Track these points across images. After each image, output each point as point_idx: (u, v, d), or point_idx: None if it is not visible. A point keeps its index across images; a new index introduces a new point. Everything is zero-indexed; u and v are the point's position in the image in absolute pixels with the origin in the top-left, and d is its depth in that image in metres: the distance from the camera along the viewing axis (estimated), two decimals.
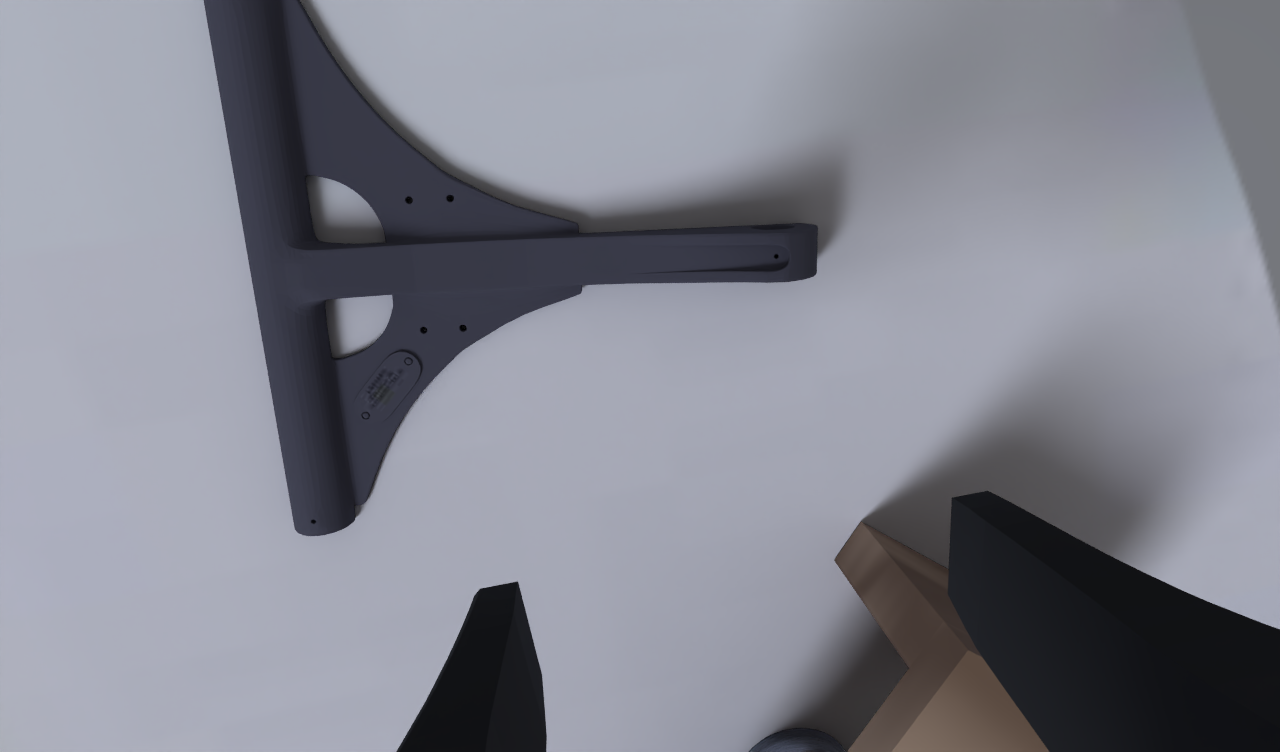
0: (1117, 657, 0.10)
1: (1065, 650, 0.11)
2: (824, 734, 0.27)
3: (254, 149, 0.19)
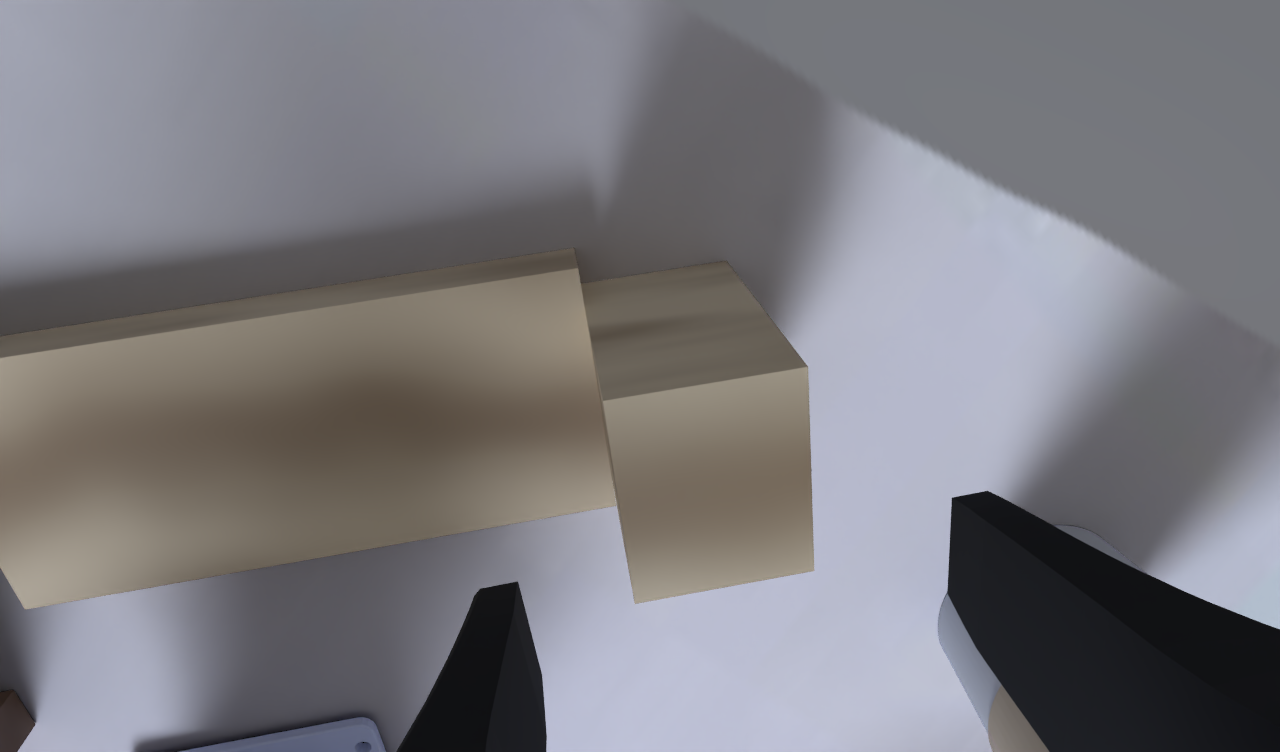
0: (1117, 657, 0.10)
1: (1066, 649, 0.11)
2: None
3: None
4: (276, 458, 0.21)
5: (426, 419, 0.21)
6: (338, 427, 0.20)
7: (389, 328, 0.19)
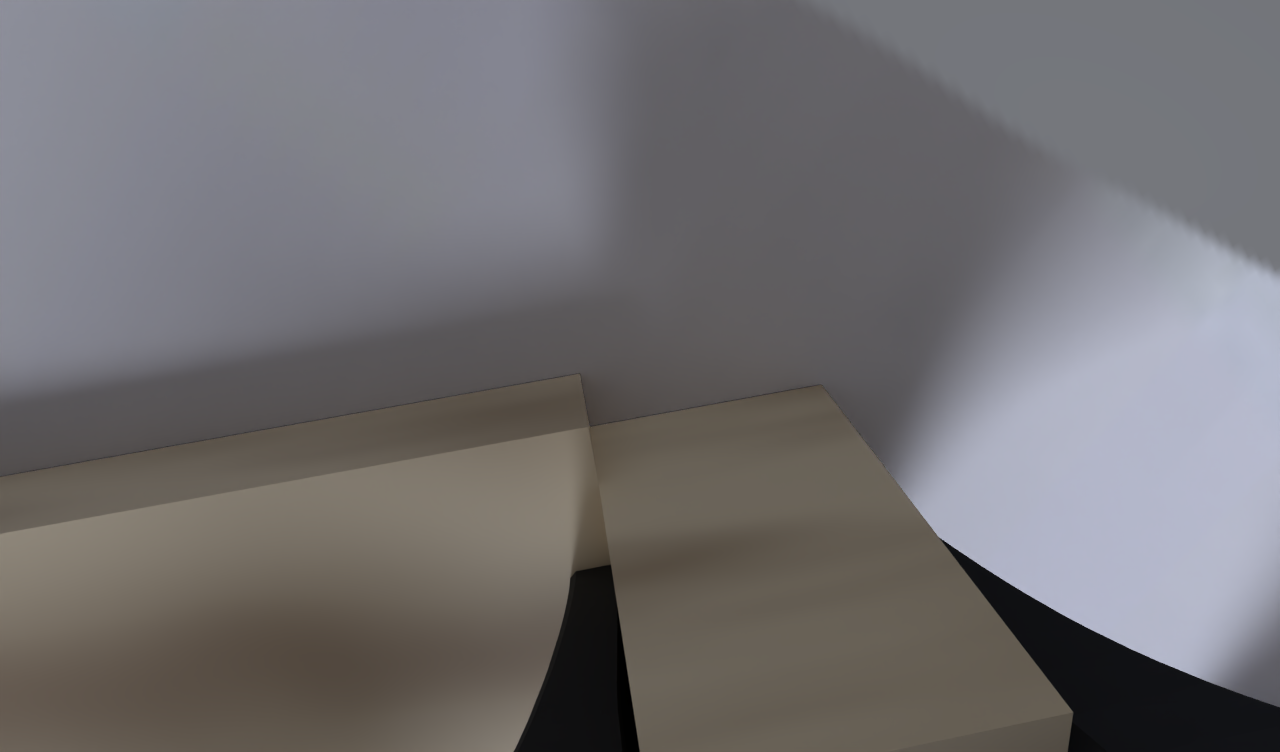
0: None
1: None
2: None
3: None
4: (97, 730, 0.13)
5: (342, 662, 0.13)
6: (196, 681, 0.12)
7: (268, 533, 0.11)
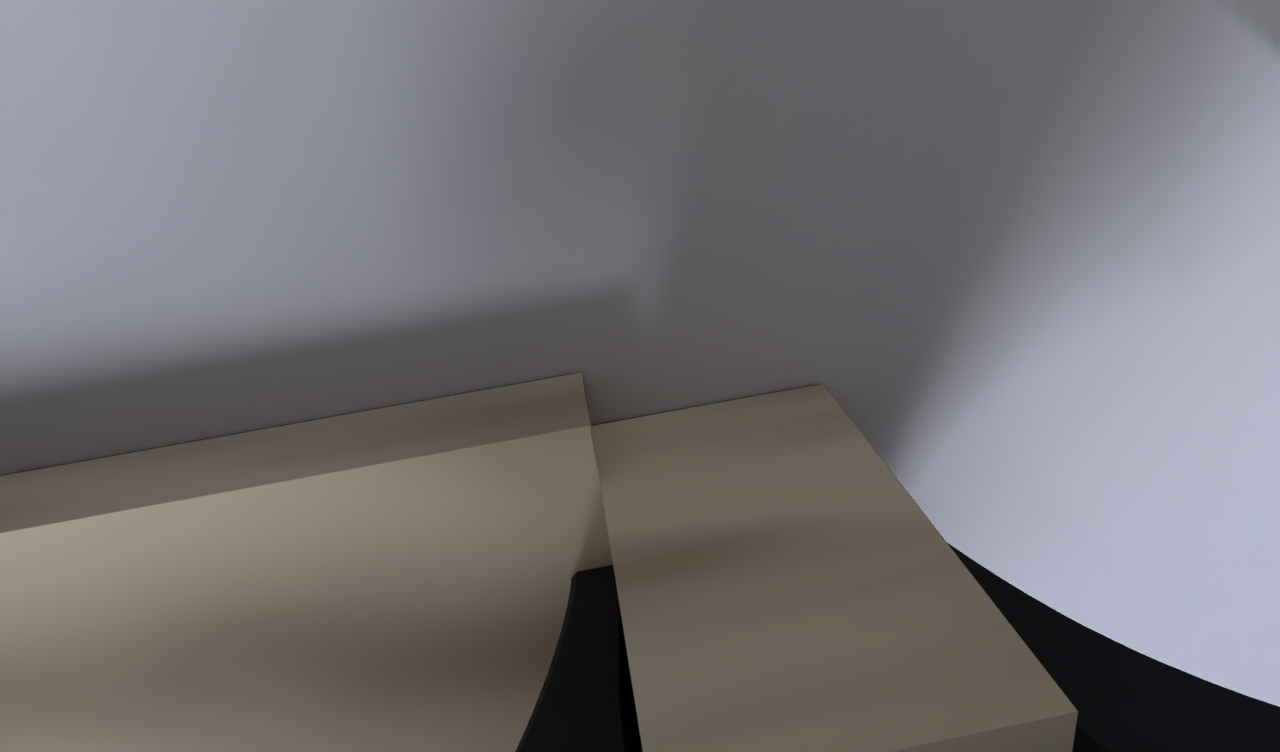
0: None
1: None
2: None
3: None
4: (97, 730, 0.13)
5: (344, 662, 0.13)
6: (196, 681, 0.12)
7: (269, 532, 0.11)
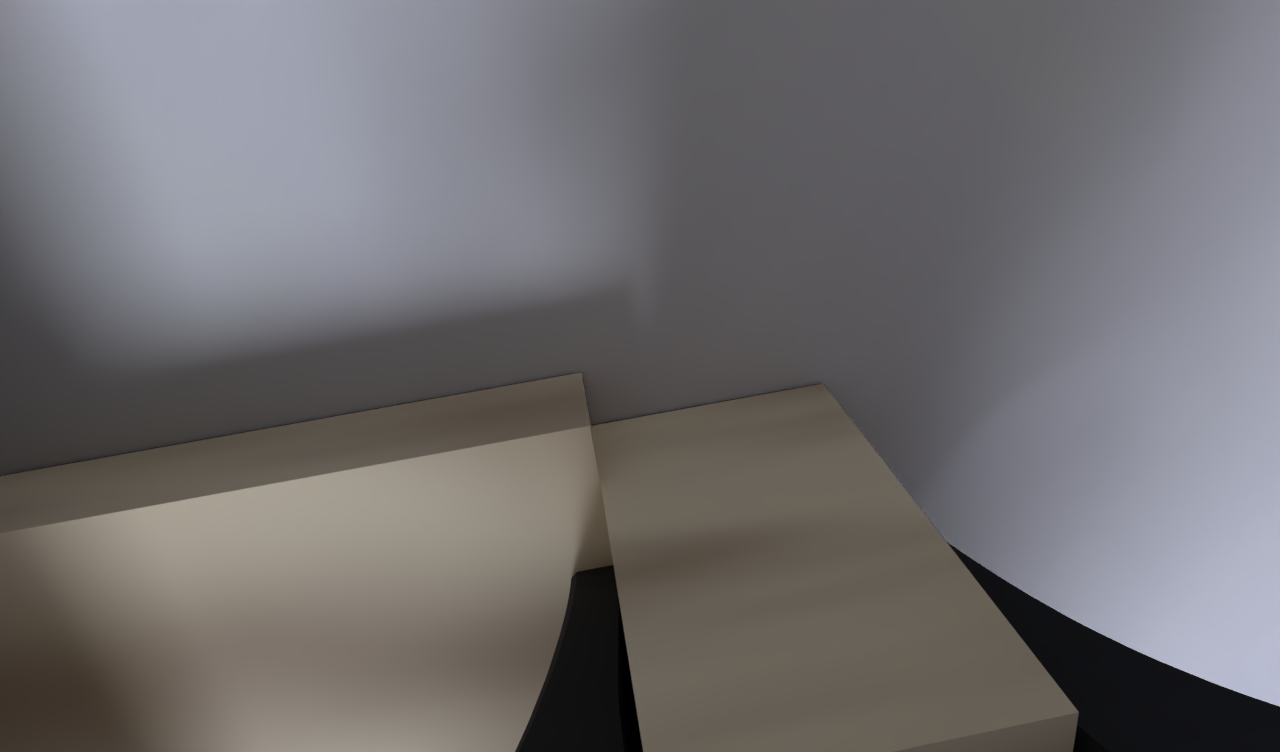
0: None
1: None
2: None
3: None
4: (97, 730, 0.13)
5: (343, 662, 0.13)
6: (197, 682, 0.12)
7: (269, 532, 0.11)
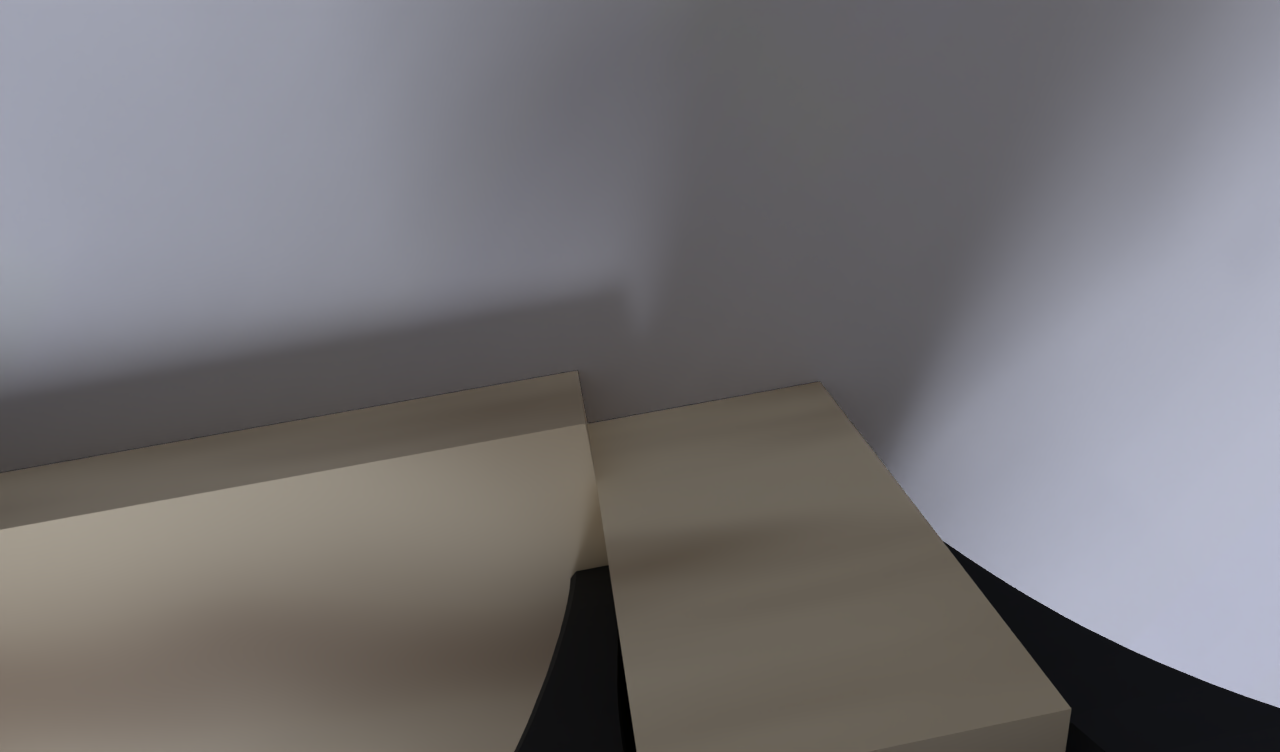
0: None
1: None
2: None
3: None
4: (94, 727, 0.13)
5: (339, 660, 0.13)
6: (192, 679, 0.12)
7: (265, 530, 0.11)
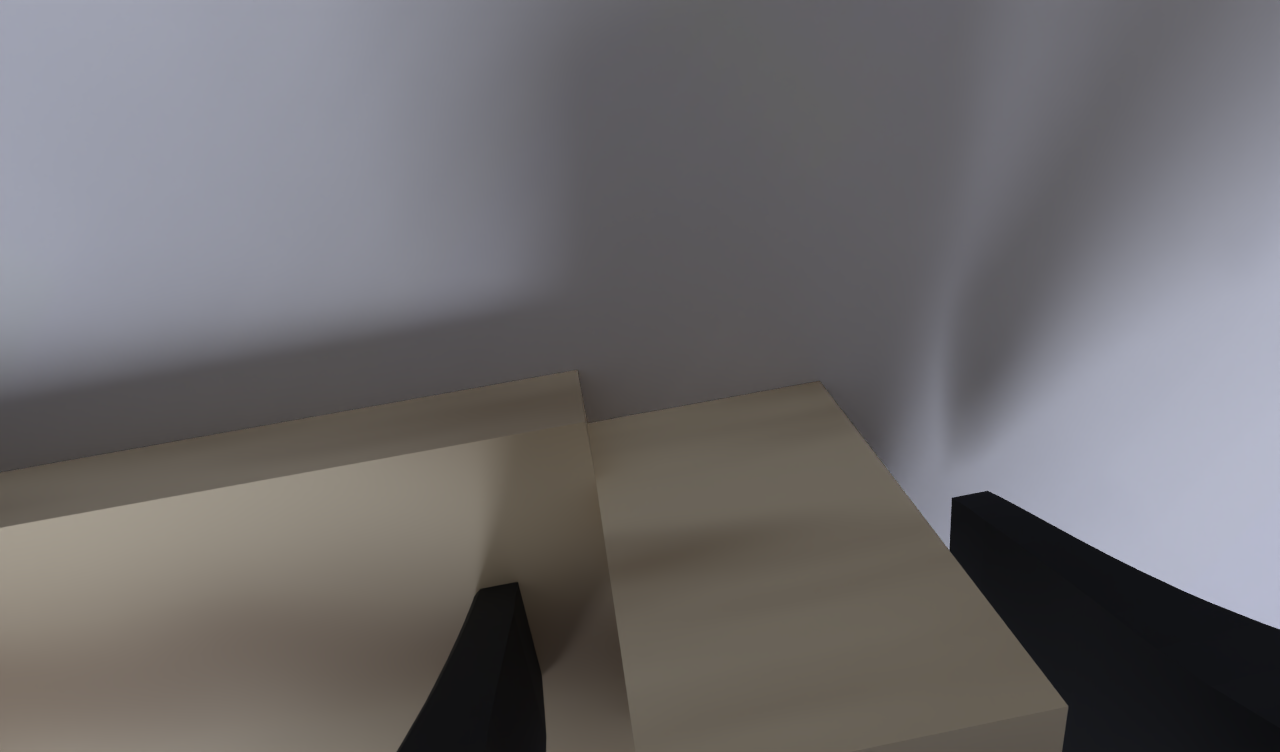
0: (1117, 657, 0.10)
1: (1065, 650, 0.11)
2: None
3: None
4: (95, 724, 0.13)
5: (340, 657, 0.13)
6: (194, 677, 0.12)
7: (265, 527, 0.11)
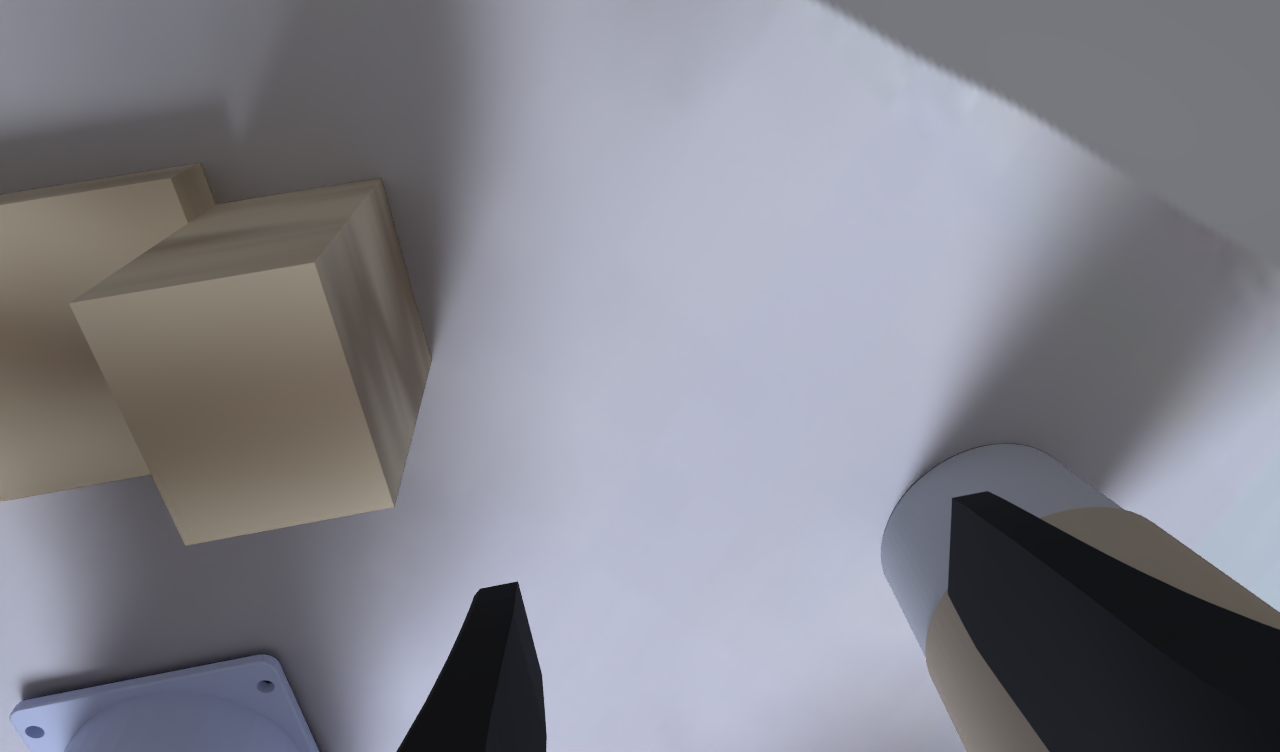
0: (1117, 657, 0.10)
1: (1065, 650, 0.11)
2: None
3: None
4: None
5: (31, 353, 0.19)
6: None
7: None
